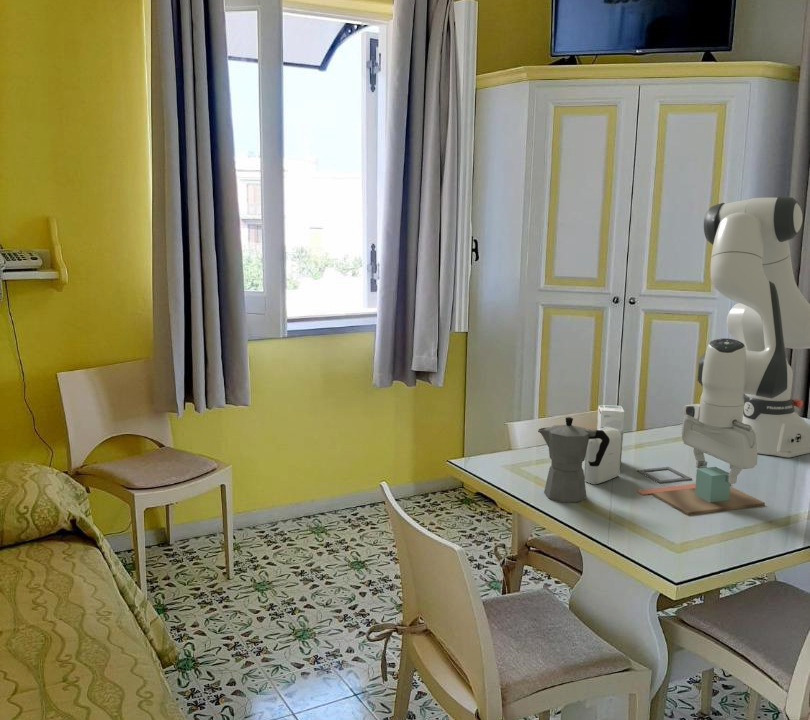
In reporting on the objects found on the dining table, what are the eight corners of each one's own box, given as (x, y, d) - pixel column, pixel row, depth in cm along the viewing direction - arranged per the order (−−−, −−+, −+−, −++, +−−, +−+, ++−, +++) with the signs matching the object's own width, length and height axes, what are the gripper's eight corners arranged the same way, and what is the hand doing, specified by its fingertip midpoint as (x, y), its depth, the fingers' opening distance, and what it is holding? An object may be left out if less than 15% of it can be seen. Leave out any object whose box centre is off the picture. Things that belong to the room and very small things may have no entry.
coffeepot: (533, 499, 175) (536, 420, 171) (537, 485, 184) (540, 409, 180) (605, 507, 171) (610, 426, 168) (606, 492, 180) (611, 415, 177)
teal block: (713, 492, 179) (715, 466, 178) (728, 500, 175) (731, 473, 173) (694, 494, 178) (696, 468, 177) (709, 502, 173) (712, 476, 172)
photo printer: (596, 486, 184) (599, 434, 182) (581, 481, 187) (583, 430, 185) (621, 476, 191) (625, 426, 188) (606, 472, 194) (609, 423, 192)
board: (726, 487, 185) (726, 484, 185) (764, 505, 173) (764, 502, 173) (652, 495, 178) (652, 493, 178) (687, 515, 167) (687, 512, 167)
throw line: (724, 481, 188) (724, 480, 188) (731, 485, 186) (731, 483, 186) (636, 491, 181) (636, 490, 181) (642, 495, 179) (642, 494, 178)
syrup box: (617, 460, 203) (621, 404, 201) (621, 467, 198) (625, 410, 195) (594, 459, 204) (597, 403, 201) (597, 466, 198) (601, 409, 195)
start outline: (668, 467, 198) (668, 466, 198) (691, 479, 189) (692, 478, 189) (637, 471, 195) (637, 470, 195) (659, 483, 186) (659, 482, 186)
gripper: (768, 426, 164) (762, 490, 167) (701, 402, 183) (697, 460, 186) (743, 429, 162) (737, 493, 165) (678, 404, 181) (674, 463, 184)
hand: (715, 475), depth 175 cm, fingers open, 8 cm apart
